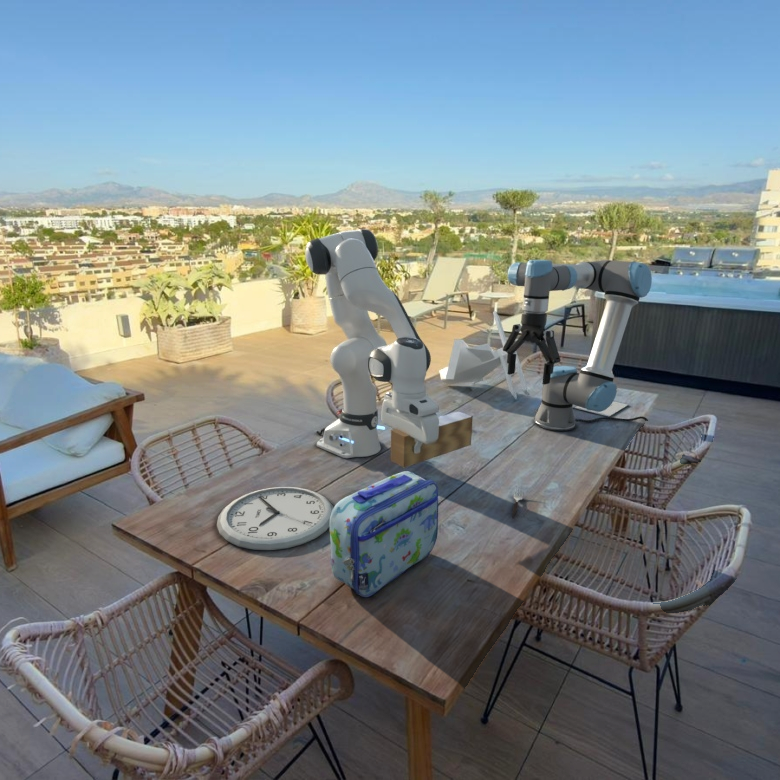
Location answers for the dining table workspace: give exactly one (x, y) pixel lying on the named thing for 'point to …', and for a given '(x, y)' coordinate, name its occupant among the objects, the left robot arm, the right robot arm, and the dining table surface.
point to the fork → (517, 498)
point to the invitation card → (609, 411)
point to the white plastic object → (480, 363)
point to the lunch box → (383, 531)
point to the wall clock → (275, 518)
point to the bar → (451, 437)
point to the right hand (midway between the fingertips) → (527, 378)
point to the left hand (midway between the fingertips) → (407, 448)
